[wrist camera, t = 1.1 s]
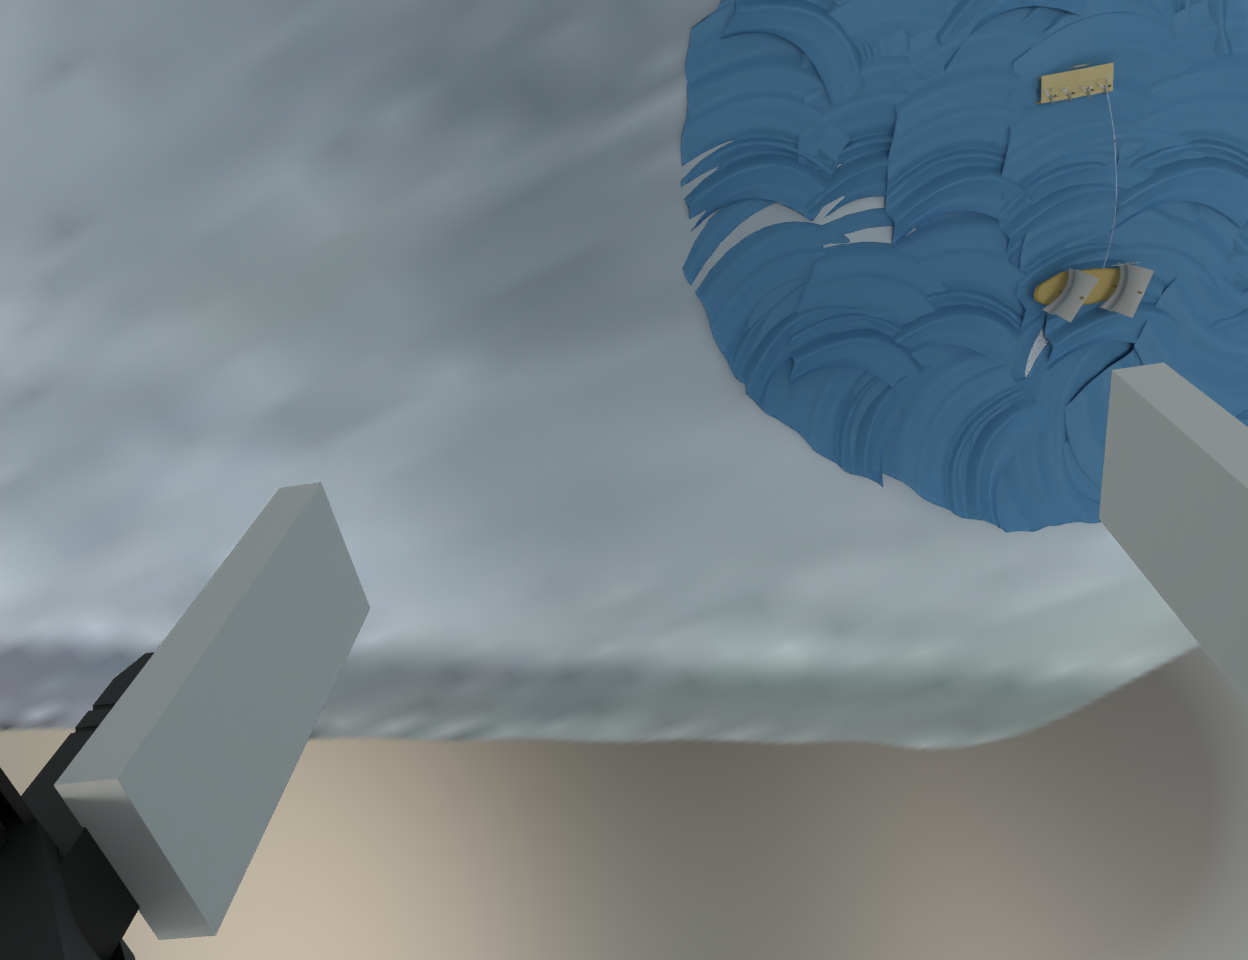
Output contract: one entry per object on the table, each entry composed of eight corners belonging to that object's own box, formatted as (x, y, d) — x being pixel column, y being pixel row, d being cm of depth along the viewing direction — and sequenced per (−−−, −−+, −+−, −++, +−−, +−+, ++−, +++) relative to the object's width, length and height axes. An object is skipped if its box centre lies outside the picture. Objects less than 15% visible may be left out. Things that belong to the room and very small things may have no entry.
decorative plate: (818, 608, 44) (839, 664, 39) (565, -27, 35) (550, -59, 30) (1462, 379, 39) (1578, 410, 34) (1356, -421, 30) (1492, -535, 25)
